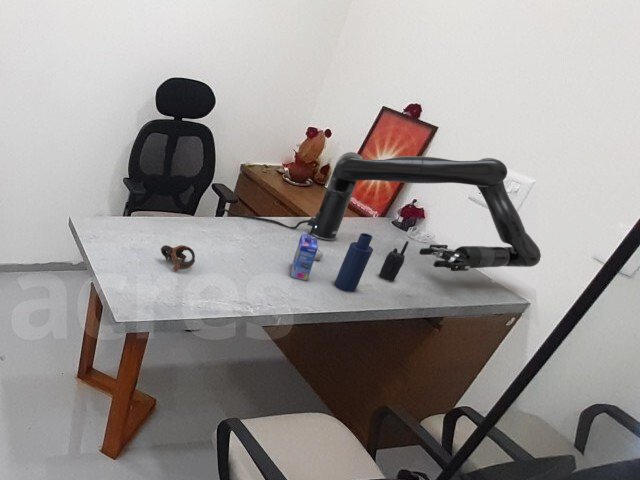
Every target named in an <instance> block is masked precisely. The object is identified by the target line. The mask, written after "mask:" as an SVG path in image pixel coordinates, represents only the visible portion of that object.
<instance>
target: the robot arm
mask: <svg viewBox="0 0 640 480" xmlns="http://www.w3.org/2000/svg"><path fill="white" fill-rule="evenodd" d="M507 176H508V167H507V166H506V164H505V163H504V162H503V161H502V160H500V159H497V158H495V157H484V158H480V159H478V160H454V159H448V158H447V159H446V158H441V157H436V156H435V157H434V156H421V155H419V156H418V155H417V156H416V155H407V156H406V155H403V156H397V157H392V158H391V157H390V158H385V159H371V158H370V159H369V158H363V157H362V156H361V155H360V154H358V153H357V152H355V151H349V152H345V153H343V154H341V155H340V156H339V157H338V158H337V160H336V162H335V165H334V168H333V171H332V173H331V177H330V178H329V181H328V183H327V187H326V190H325V193H324V196H323V198H322V201H321V204H320V207H319V210H318V211H317V212H316V215H315V217H314V216H311V217H310V219H306V220H301V221H298V223H296V225H295V226H289V225H286V224H285V223H282V222H280V221H277V220H274V219H271V218H265V217H258V216H254V215H247V214H240V213H235V212H233V211H230V210H229V209H226V208H222V209H220V210H218V212H219V213H222V212H226V213H228V214H229V215H232V216H235V217H239V218H246V219H252V220H257V221H264V222H268V223H272V224H277V225H279V226H282V227H284V228H287V229H290V230H296V229H298V227H300V225H302V224H307V226H310V227H311V228H310V232H309V235H310V236H313V237H317V239H319V240H323V241H330V242H331V241H335V240H336V238H337V235H338V232H339V230H340V227H341V224H342V222H343V220H344V217H345V214H346V212H347V210H348V207H349V204H350V201H351V200H352V196H353V194H354V191H355V189H356V184H357V183H358V182H361V181H382V182H388V183H389V182H391V183H403V184H404V183H405V184H461V185H470V186H476V187H477V189H478V191H479V192H480V193H481V195H482V198H483V199H484V202H485V203H486V205H487V208H488V211H489V213H490V216H491V219H492V222H493V225H494V227H495V229H496V231H497V234H498V237H499V240H500V241H501V242H502V243H504V244H508V245H509V246H484V245H461V246H459V247H457V248H456V249H453V248H448V247H449V245H447V244H430V245H429V247H427V248H426V247H425V248H424V247H421V248H420V250H419V252H418V254H419V255H420V256H430V255H431V256H434V257H436V259H440V260H435V261H434V263H433V264H432V265H433V267H434V268H446V269H450V271H451V272H466V271H469V270H470V269H484V268H501V267H511V268H517V267H518V268H531V267H535V266H537V265H539V263H540V261H541V259H540V258H542V252H541V250H540V248H539V246H538V245H537V243H536V242H535V241H534V239H532V237H531V236H530V235H529V234H528V233H527V231H526V229H525V226H524V223H523V221H522V218H521V217H520V214H519V212H518V210H517V209H516V207H515V205H514V204H513V201H512V200H511V198H510V196H509V195H508V192H507V190H506V187H505V182H504V180H505V179H506V178H507ZM540 252H541V253H540Z"/></svg>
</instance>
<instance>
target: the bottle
mask: <svg viewBox="0 0 640 480" xmlns="http://www.w3.org/2000/svg"><path fill="white" fill-rule="evenodd" d="M373 238H374V237H373V235H371V234H369V233H366V232H361V233H360V234H359V237H358V239H357V241H353V242H350V244H349V246H348V249H347V252H346V254H345V256H344V258H343V261H342V263H341V265H340V268H339V271H338V273H337V275H336V278H335V280H334V286H335V287H336V288H337V289H338V290H340V291H343V292H346V293H354V292H355V291H356V290H357V287H358V285H359V283H360V281H361V279H362V276H363V274H364V271H365V269H366V268H367V265H368V263H369V260H370V258H371V256H372V254H373V252H374V248H373V247H372V246H371V245H370V244H371V243H372V240H373Z"/></svg>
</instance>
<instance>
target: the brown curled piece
mask: <svg viewBox="0 0 640 480" xmlns="http://www.w3.org/2000/svg"><path fill="white" fill-rule="evenodd" d="M185 251H188V252H189V253H190V254H191V259H190V260H188V261H185V260H186V258H187V255H186V254H184V252H185ZM160 253H161V255H162V256H163V257H164V258H165V261H168V260H171V259H172V262H173V263H174V265H173V267H172V270H173V271H175V272H178V271H182V270H187V269H190V268H191V267H192V266H193V265H194V264H195V262H196V253H195V252H194V250H193V249H192V248H191V247H190V246H187V245H182V244H179V245H177V246H175V247H172V246H170V245H167V244H166V245H165V244H164V245H162V247H160ZM179 259H180V260H181V261H180V262H179Z"/></svg>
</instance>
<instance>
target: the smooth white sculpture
mask: <svg viewBox="0 0 640 480" xmlns="http://www.w3.org/2000/svg"><path fill="white" fill-rule="evenodd" d="M323 256H324V253H323V252H322V251H321V250H320V249H319V248H318V250H317V253H316V256H315V259H314V261H319V260H321V259H322V258H323Z"/></svg>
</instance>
